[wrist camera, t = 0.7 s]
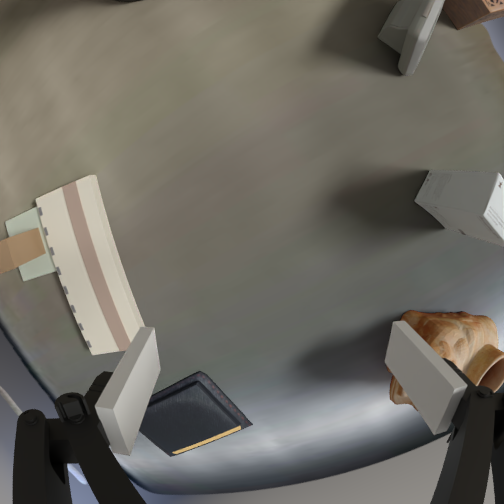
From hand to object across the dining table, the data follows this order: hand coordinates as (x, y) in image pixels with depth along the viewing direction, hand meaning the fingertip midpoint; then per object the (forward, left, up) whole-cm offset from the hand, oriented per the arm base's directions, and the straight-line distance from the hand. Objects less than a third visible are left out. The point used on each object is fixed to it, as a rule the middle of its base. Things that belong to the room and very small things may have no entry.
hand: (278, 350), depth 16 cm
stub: (-9, -33, -26) cm, 43 cm away
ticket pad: (-2, -24, -26) cm, 35 cm away
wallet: (+27, -20, -27) cm, 43 cm away
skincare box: (0, +28, -26) cm, 38 cm away
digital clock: (-26, +30, -26) cm, 48 cm away
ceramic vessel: (+24, +25, -26) cm, 44 cm away
